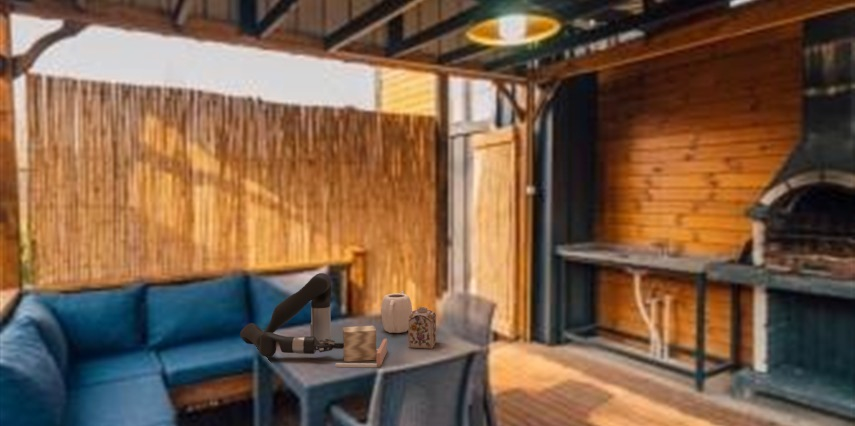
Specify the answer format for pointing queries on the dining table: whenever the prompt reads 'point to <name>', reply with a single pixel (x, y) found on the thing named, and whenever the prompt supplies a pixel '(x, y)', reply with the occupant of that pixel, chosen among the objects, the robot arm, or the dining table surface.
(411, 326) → the decorative jar
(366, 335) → the wooden block
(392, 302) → the beige pitcher
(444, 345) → the dining table surface
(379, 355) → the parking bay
